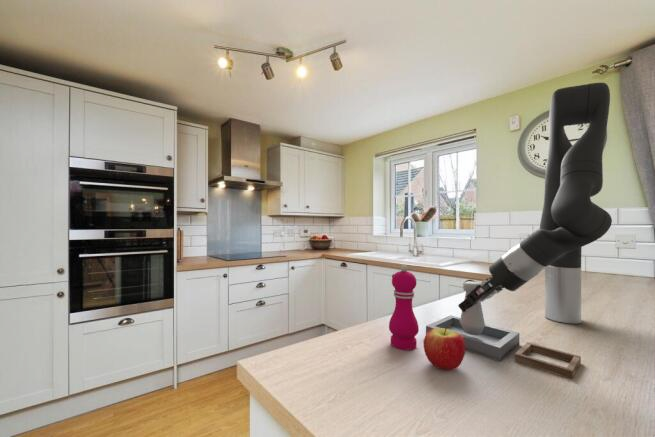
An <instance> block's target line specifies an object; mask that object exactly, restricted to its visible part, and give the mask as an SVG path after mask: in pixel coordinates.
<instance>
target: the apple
mask: <svg viewBox="0 0 655 437" xmlns="http://www.w3.org/2000/svg"><path fill="white" fill-rule="evenodd" d="M450 324H451V322H450V323H449V324H448V325H447V327H448V326H449V325H450ZM447 327H446V329H445V328H434V329H431V330H429V331H428V332H427V334H426V333H425V336H424V338H423V351H424V355H425V356H426V359H427V360H428V361H429V362H430V364H431V365H433V366H434V367H435V368H437V369H439V370H441V371H452V370H456V369H457V368H459V367H460V366H461V364H462V362H463V360H464V358H465V354H466V350H465V341H464V338H463V336H462V335H461V334H459V333H457V332H455V331H452V330H449V329H447Z"/></svg>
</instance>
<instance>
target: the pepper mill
mask: <svg viewBox="0 0 655 437" xmlns="http://www.w3.org/2000/svg"><path fill="white" fill-rule="evenodd" d="M391 284H392V286H393V288H394V290H393V296H394V298H395V305H394V307H395V308H394V310H393V313H392V315H391V317H390V319H389V322H388V328H389V331H390V333H391V335H390V345H391V346H392V347H393V348H395V349H397V350H402V351H411V350H414V349H416V348H417V338H416V336H417V335H418V333H419V331H420V330H419V328H420V327H419V324H418V320H417V318H416V315H415V313H414V309H413V299H414V297H415V292H414V289H415V288H416V286H417V278H416V276H415V275H414V273H412V272H410V271H409V270H408V266H407V265H406V264H401V266H400V271H399V270H398V271H396V272H395V273H394V274H393V275H392V278H391Z"/></svg>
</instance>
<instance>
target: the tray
mask: <svg viewBox="0 0 655 437" xmlns="http://www.w3.org/2000/svg"><path fill="white" fill-rule="evenodd" d="M460 318H461V317H460V316H459V317H458V316H454V315H447V316H446V317H443V318H441V319H438V320H436V321H434V322H432V323H430V324H427V325H426V326H425V335H426V334H427V332H428V331H429V330H431V329H434V328H445V329H446V327H447V325H448V324H449V323H450V322H451V324H450V325H449V326H448V327H447V329H449V330H452V331H455V332H457V333H459V334H461V335H462V336H463V338H464V341H465V351H466V352H469V353H472V354H477V355H479V356H482V357H485V358H488V359H492V360H495V361H497V362H501V361H503V360H504V359H505V358H506V357H507V356H508V355H510V354H511V352H513V351H514V350H515V349H516V348H517V347H519V345H520V332H518V331H514V330H510V329H505V328H502V327H498V326H495V325H490V324H487V323H485V327H484V329H483V331H482V333H481V334H479V335H470V334H468V333H465V332H464V330H463V328H462V326H461V324H460Z"/></svg>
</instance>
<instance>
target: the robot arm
mask: <svg viewBox="0 0 655 437" xmlns="http://www.w3.org/2000/svg"><path fill="white" fill-rule="evenodd" d="M610 103H611V93H610V87H609V85H608V84H607V83H606V82H593V83H588V84H587V83H586V84H580V85H574V86H568V87H562V88H559V89H556V90H555V91H554V92H553V93H552V95H551V99H550V103H549V120H548V122H549V124H548V151H547V160H546V167H545V176H544V189H543V190H544V195H543V197H544V198H543V207H542V213H541V218H540V221H539V222H540V223H539V228H538V229H536V230H534V231H533V232H532V233H531V234H529V235H528V236H527V237H526V238H525V239H523V240H522V241H520V242H519V243H518V244H517V245H515V246H513V247H512V248H510V249H509V250H508V251H507V252H505V253H504V254H503V255H502V256H500V257H499V258H498V259H497V260H495V261H494V262H493V263H492V264H491V265H490V266H489V267H488V271H489V274H490V275H491V276H490V277H486V278H485V279H483V280H482V281H481V283H479V284H480V285H477V287H476V288H475V289H474V290H472V291H471V292H470V293H469V294H468V295H467V296H466V297H467V298H466V299H465V298H464V299H465V300H463V301H461V302H460V303H458V308H459V309H460V310H461V312H462V311H463V312H465V311H466V309H469V308H470V307H472V306H473V305H475V304H477V303H478V302H480V301H481V303H482V302H484V301H486V300H488V299H491V298H493V297H494V296H495V295H497V294H499V293H501V292H502V291H503V289H506V290H508V291H510V292H516V291H517V290H518V289H520V288H521V287H522V286H523V285H525V284H526V283H528V282H529V281H531V280H532V279H533V278H536V276H537V275H539V274H540V273H541V272H542V271H543V270H544V317H545V318H546V319H548V320H551V321H554V322H557V323H558V322H559V323H562V324H573V325H574V324H576V325H577V324H581V323H582V249H583V248H582V247H584V246H587V245H590V244H591V243H593V242H595V241H598V239H600V238H602V237H603V236H604V235H606V234H607V232H608V231H609V230H610V228H611V226H612V222H613V220H612V216H611V214H610V213H609V212H608V211H607V210H605V209H603V208H602V207H601V206H599V205H597V204H596V203H594V202H593V201H592V199H591V198H592V197H595V196H596V195H598V194H599V193H600V192H601V191H602V188H603V182H604V180H603V179H604V178H603V177H604V175H603V174H604V173H603V171H604V169H603V152H604V147H605V140H606V135H607V134H606V133H607V129H608V128H607V127H608V122H609V113H610V105H611V104H610ZM587 124H589V125H588V127H587V129H586V130H585V132H584V133H583V134H582V135H581V136H580V137H579V139H577V140H576V141H575V143H574V144H572V143H571V141H570V139H569V137H568V136H567V133H566V130H565V127H566V126H576V125H577V126H578V125H587Z"/></svg>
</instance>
